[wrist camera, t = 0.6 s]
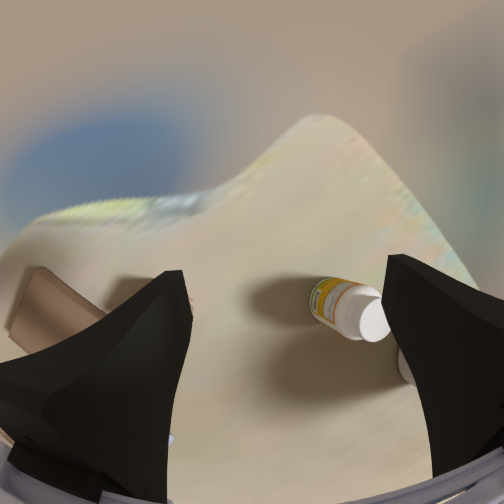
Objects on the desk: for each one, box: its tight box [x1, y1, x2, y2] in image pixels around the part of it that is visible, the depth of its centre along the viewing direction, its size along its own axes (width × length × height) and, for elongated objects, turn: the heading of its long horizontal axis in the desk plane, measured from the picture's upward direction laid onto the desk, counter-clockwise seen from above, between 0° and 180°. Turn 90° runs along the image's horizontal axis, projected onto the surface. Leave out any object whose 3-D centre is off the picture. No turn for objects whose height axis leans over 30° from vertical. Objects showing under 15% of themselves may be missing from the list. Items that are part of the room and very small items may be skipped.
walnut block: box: [8, 267, 107, 355], centre depth 26 cm, size 9×9×3 cm
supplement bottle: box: [309, 277, 391, 342], centre depth 29 cm, size 5×5×10 cm
